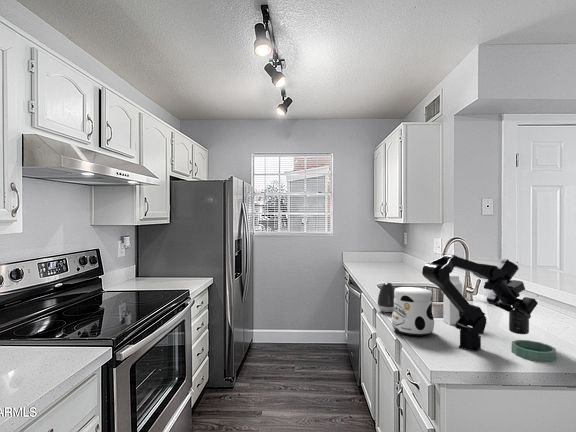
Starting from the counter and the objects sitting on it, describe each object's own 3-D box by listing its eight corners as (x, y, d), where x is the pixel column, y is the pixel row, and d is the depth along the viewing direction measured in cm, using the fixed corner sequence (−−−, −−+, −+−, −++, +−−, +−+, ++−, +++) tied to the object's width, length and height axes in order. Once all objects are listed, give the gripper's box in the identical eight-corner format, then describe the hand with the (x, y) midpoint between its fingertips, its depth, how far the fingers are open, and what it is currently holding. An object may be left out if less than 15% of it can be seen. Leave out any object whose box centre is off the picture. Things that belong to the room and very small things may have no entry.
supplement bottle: (510, 328, 152) (510, 299, 152) (529, 331, 147) (530, 302, 147) (507, 332, 146) (507, 302, 146) (527, 335, 142) (528, 305, 142)
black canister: (400, 310, 194) (400, 282, 194) (394, 315, 185) (394, 285, 185) (381, 308, 199) (381, 280, 200) (374, 312, 191) (375, 283, 191)
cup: (510, 355, 131) (510, 347, 131) (513, 345, 142) (513, 337, 142) (556, 364, 123) (556, 355, 123) (555, 353, 134) (555, 344, 134)
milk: (462, 324, 169) (462, 277, 169) (449, 325, 169) (450, 277, 169) (454, 321, 176) (455, 275, 176) (442, 321, 175) (443, 275, 175)
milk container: (384, 332, 157) (384, 290, 157) (402, 324, 170) (402, 285, 170) (424, 341, 145) (424, 296, 145) (440, 332, 158) (440, 290, 158)
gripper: (534, 277, 137) (555, 305, 140) (492, 270, 155) (511, 295, 158) (518, 299, 134) (540, 327, 138) (477, 290, 152) (497, 315, 155)
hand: (521, 315), depth 147 cm, fingers closed on supplement bottle, 7 cm apart
